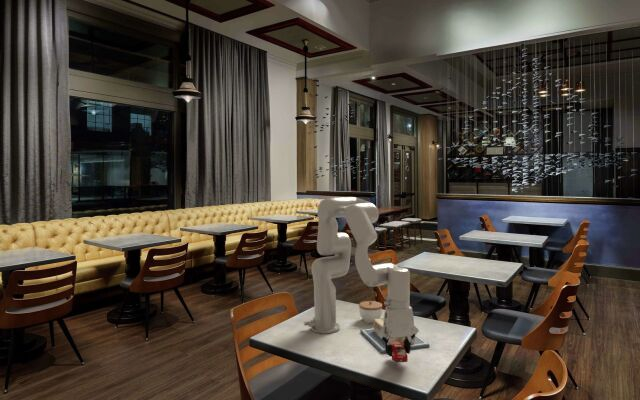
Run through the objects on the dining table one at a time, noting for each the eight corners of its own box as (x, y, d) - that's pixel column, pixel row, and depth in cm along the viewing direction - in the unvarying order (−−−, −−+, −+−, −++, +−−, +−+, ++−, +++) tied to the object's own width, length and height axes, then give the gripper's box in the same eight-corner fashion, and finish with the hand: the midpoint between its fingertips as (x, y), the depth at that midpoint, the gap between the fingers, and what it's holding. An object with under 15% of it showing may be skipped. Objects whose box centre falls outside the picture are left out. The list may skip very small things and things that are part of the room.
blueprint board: (382, 353, 144) (382, 337, 144) (360, 332, 165) (360, 318, 165) (429, 346, 149) (429, 331, 149) (402, 327, 170) (402, 313, 170)
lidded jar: (357, 324, 175) (357, 303, 175) (360, 316, 186) (360, 297, 185) (381, 325, 173) (381, 304, 173) (383, 317, 183) (382, 298, 183)
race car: (387, 347, 142) (387, 336, 142) (402, 347, 142) (402, 337, 142) (392, 364, 129) (392, 352, 129) (408, 364, 129) (409, 353, 129)
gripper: (380, 309, 128) (379, 361, 129) (426, 304, 133) (425, 355, 134) (371, 302, 136) (370, 351, 137) (415, 297, 140) (414, 346, 141)
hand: (397, 352), depth 135 cm, fingers closed on race car, 6 cm apart
